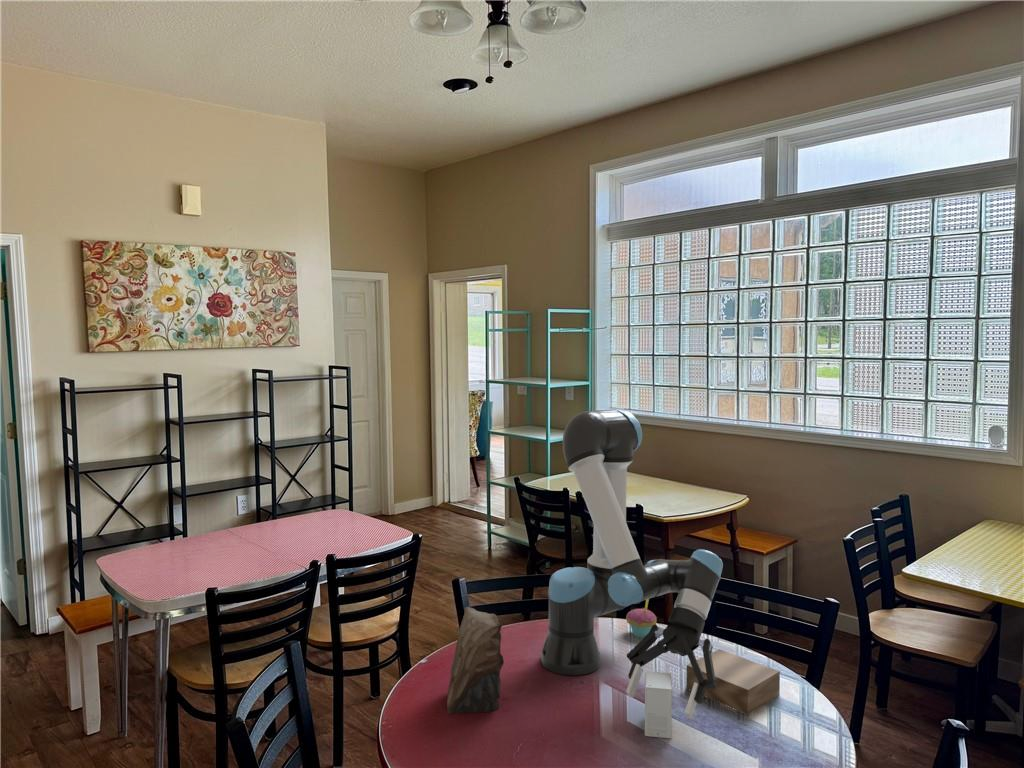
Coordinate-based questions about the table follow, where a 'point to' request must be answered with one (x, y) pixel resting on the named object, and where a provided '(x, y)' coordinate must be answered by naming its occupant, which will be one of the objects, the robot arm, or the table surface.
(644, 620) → the cupcake
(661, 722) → the small box
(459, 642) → the owl
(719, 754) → the table surface
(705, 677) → the walnut block
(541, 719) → the table surface
